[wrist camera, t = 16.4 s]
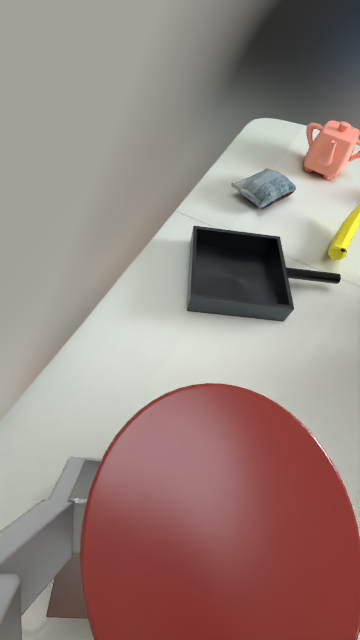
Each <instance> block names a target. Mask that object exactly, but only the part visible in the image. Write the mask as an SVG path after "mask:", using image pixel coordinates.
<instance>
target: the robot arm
mask: <svg viewBox="0 0 360 640" xmlns="http://www.w3.org/2000/svg"><path fill="white" fill-rule="evenodd" d="M101 460H102V459H94V458H80V457H71V458H70V459H69V460H68V461H67V463H66V465H65V467H64V469H63V471H62V473H61V475H60V477H59V479H58V481H57V483H56V485H55V487H54V489H53V491H52V493H51V495H50V497H49V499H48V500H42V501H41V502H40V503H38V504H37V505H35V506H34V507H33V508H31V509H30V510H29V511H27V512H26V513H25V514H23V515H22V516H21V517H19V518H18V519H17V520H15V521H14V522H13V523H11V524H10V525H9V526H7V527H6V528H4V529H3V530H2V531H0V640H22V628H21V616H22V615H23V614H24V613H25V611H26V610H27V609H28V608H29V607H30V605H31V604H32V603H33V602H34V601H35V599H36V598H37V597H38V596H39V595H40V593H41V592H42V591H43V590H44V589H45V588H46V586H47V585H48V584H49V583H50V582H51V580H52V579H53V578H54V577H55V576H56V574H57V573H58V572H59V571H60V570H61V568H62V567H63V566H64V565H65V564H66V562H67V561H68V560H69V559H70V558H71V554H80V539H81V529H82V522H83V515H84V509H85V505H86V501H87V497H88V493H89V489H90V487H91V484H92V481H93V478H94V476H95V473H96V470H97V468H98V466H99V464H100V462H101ZM358 530H359V536H360V528H359V527H358ZM359 632H360V630H359Z"/></svg>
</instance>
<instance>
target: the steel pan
mask: <svg viewBox="0 0 360 640" xmlns="http://www.w3.org/2000/svg"><path fill="white" fill-rule="evenodd" d="M288 278H293V279H302V280H310V281H318V282H327V283H335V284H337V283H339V282H340V279H341V276H340V274H336V273H328V272H319V271H311V270H303V269H295V268H287V267H286V266H285V261H284V256H283V251H282V246H281V241H280V237H277V236H269V235H262V234H254V233H246V232H238V231H231V230H223V229H215V228H207V227H200V226H194V227H193V232H192V237H191V246H190V265H189V284H188V303H187V311H194V312H203V313H213V314H222V315H231V316H240V317H249V318H258V319H268V320H277V321H284V320H285V319H286V318H287V317H288V315H289V314H290V313H291V312H292V311H293V310H294V306H293V301H292V296H291V291H290V286H289V281H288Z"/></svg>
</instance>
